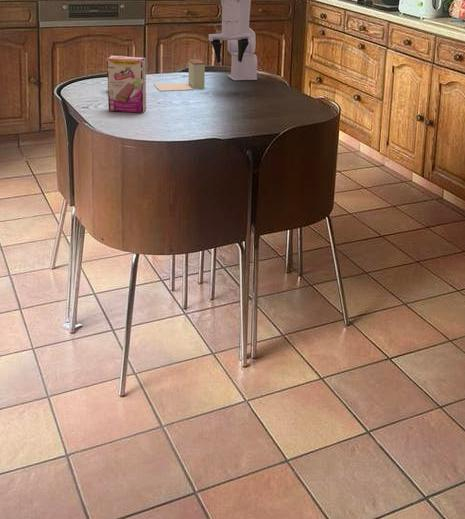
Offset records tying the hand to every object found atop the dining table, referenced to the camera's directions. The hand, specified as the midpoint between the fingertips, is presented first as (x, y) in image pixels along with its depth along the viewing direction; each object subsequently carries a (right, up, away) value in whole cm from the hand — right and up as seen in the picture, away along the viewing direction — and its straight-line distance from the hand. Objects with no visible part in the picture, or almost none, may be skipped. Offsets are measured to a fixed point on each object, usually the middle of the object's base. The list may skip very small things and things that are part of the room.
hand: (229, 61), depth 251 cm
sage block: (-12, -6, +11) cm, 17 cm away
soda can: (-38, -10, +1) cm, 39 cm away
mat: (-20, -7, +8) cm, 23 cm away
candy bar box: (-32, -21, -22) cm, 44 cm away
